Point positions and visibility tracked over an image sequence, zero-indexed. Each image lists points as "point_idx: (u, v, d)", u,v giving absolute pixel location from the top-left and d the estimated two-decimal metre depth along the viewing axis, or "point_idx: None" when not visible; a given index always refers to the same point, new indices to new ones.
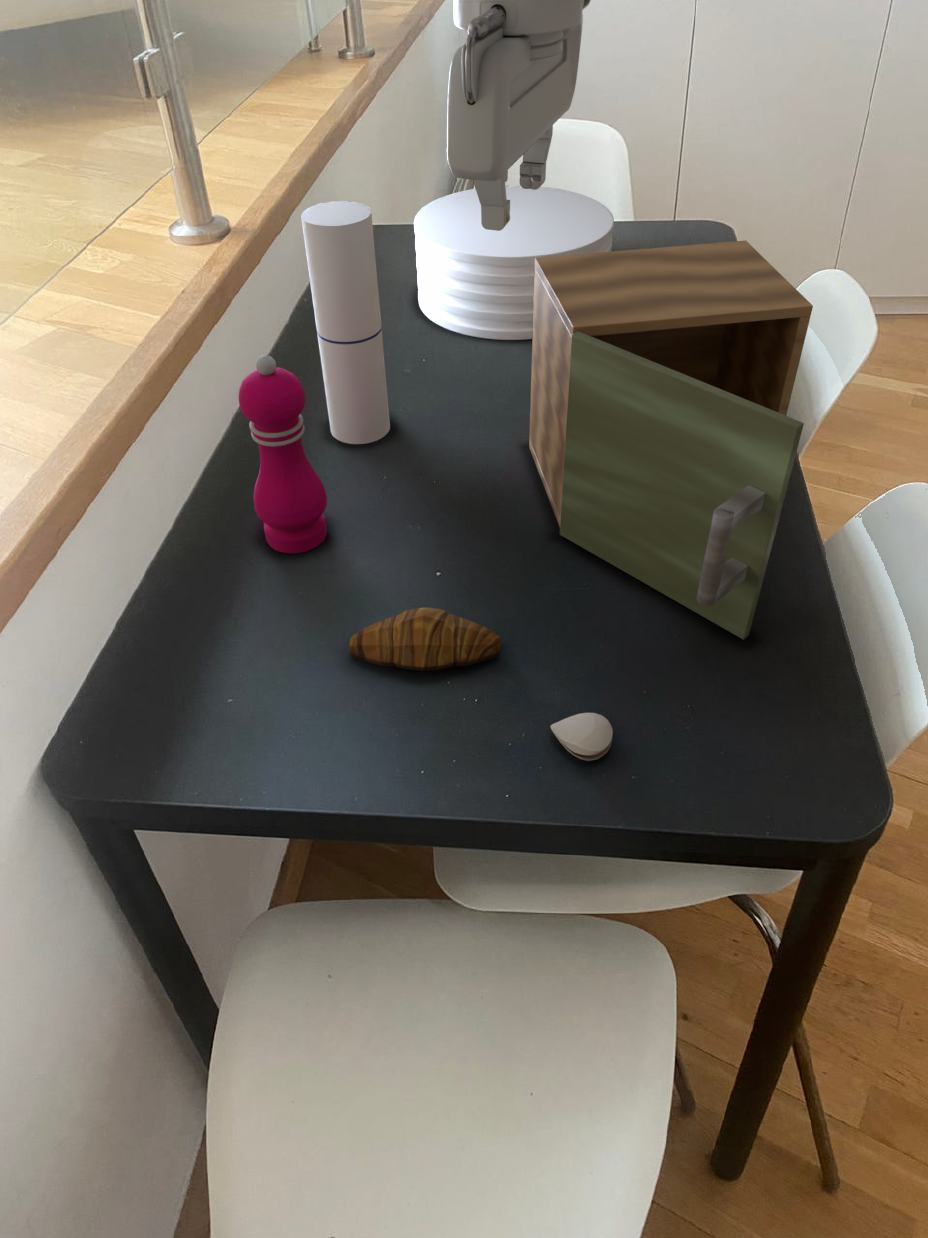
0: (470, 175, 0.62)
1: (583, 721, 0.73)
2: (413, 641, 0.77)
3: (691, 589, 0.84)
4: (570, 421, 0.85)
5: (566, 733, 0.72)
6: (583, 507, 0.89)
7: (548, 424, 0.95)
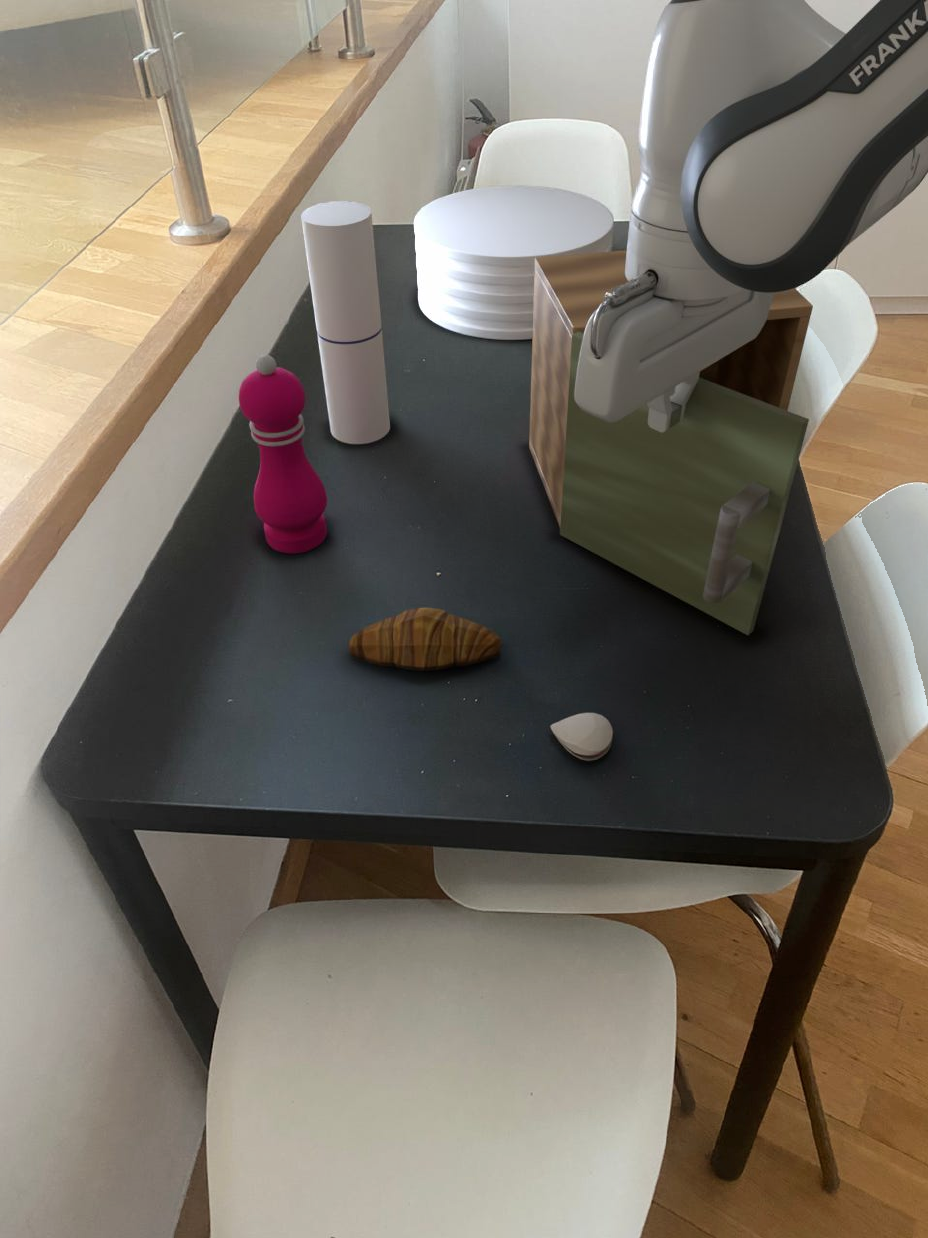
0: (590, 413, 0.66)
1: (583, 721, 0.73)
2: (413, 641, 0.77)
3: (695, 587, 0.84)
4: (570, 421, 0.85)
5: (566, 733, 0.72)
6: (584, 507, 0.89)
7: (548, 424, 0.95)
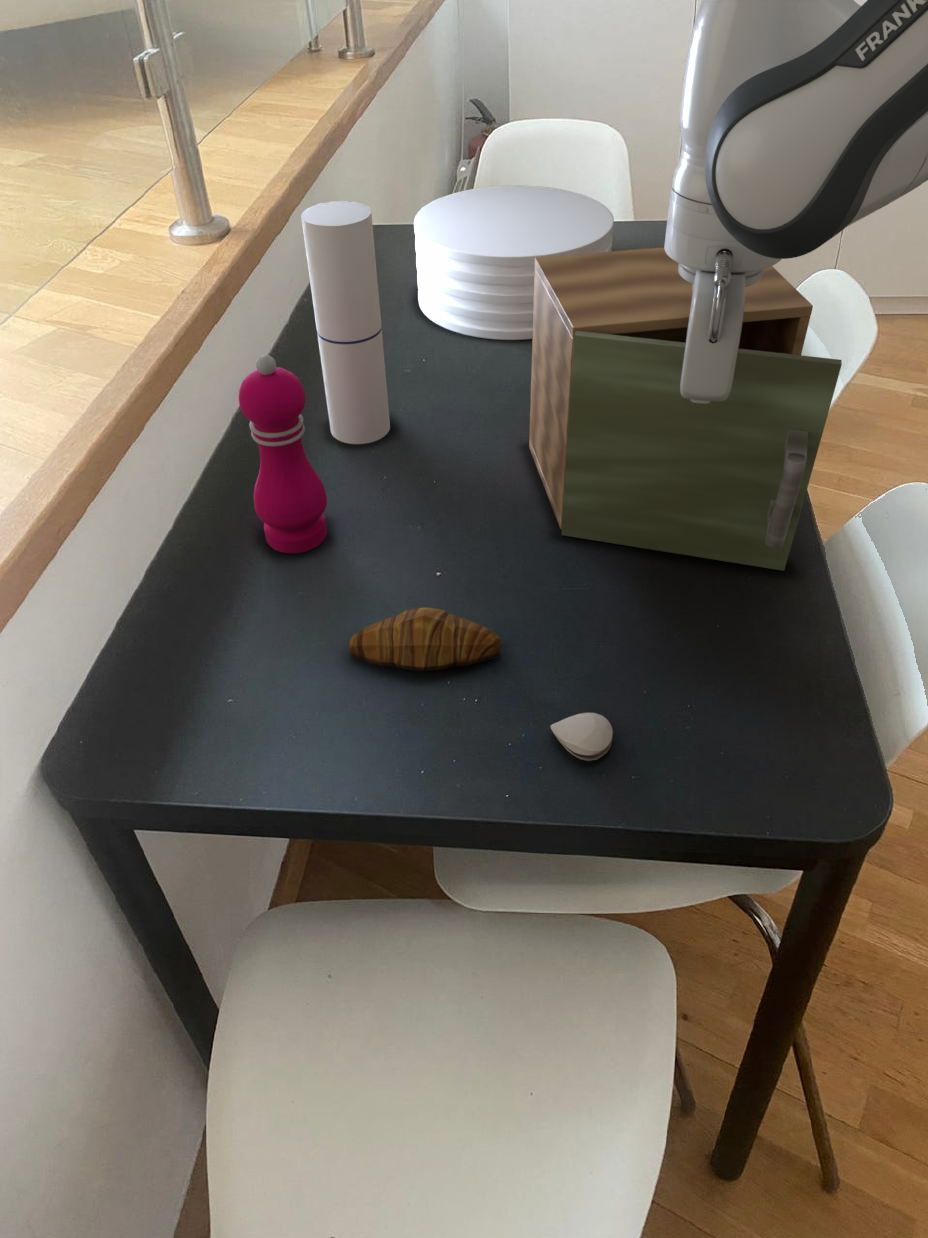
0: (702, 398, 0.67)
1: (583, 721, 0.73)
2: (413, 641, 0.77)
3: (725, 542, 0.89)
4: (574, 420, 0.85)
5: (566, 733, 0.72)
6: (592, 500, 0.90)
7: (548, 424, 0.95)
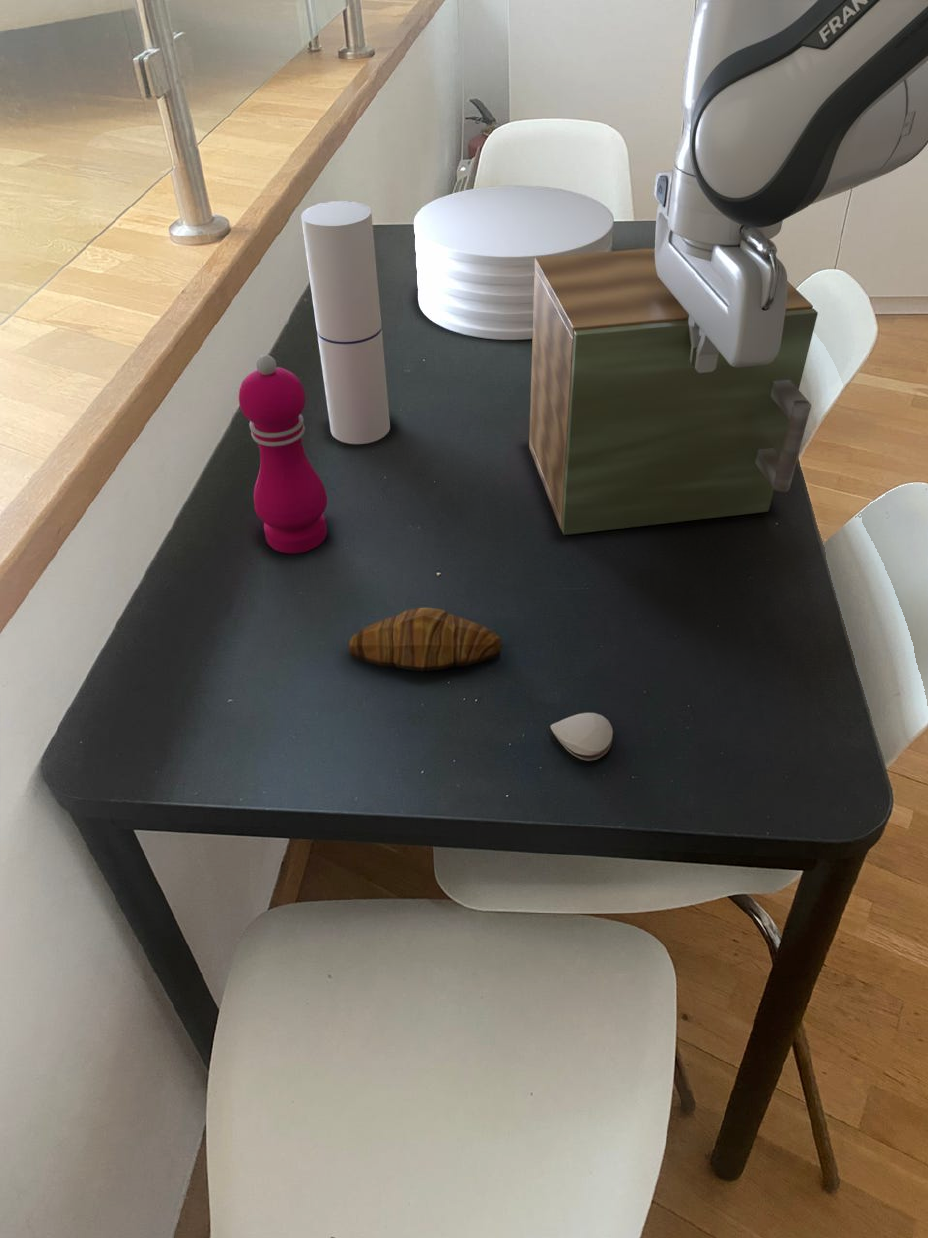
0: (754, 364, 0.71)
1: (583, 721, 0.73)
2: (413, 641, 0.77)
3: (717, 499, 0.94)
4: (576, 419, 0.85)
5: (566, 733, 0.72)
6: (593, 493, 0.91)
7: (548, 424, 0.95)
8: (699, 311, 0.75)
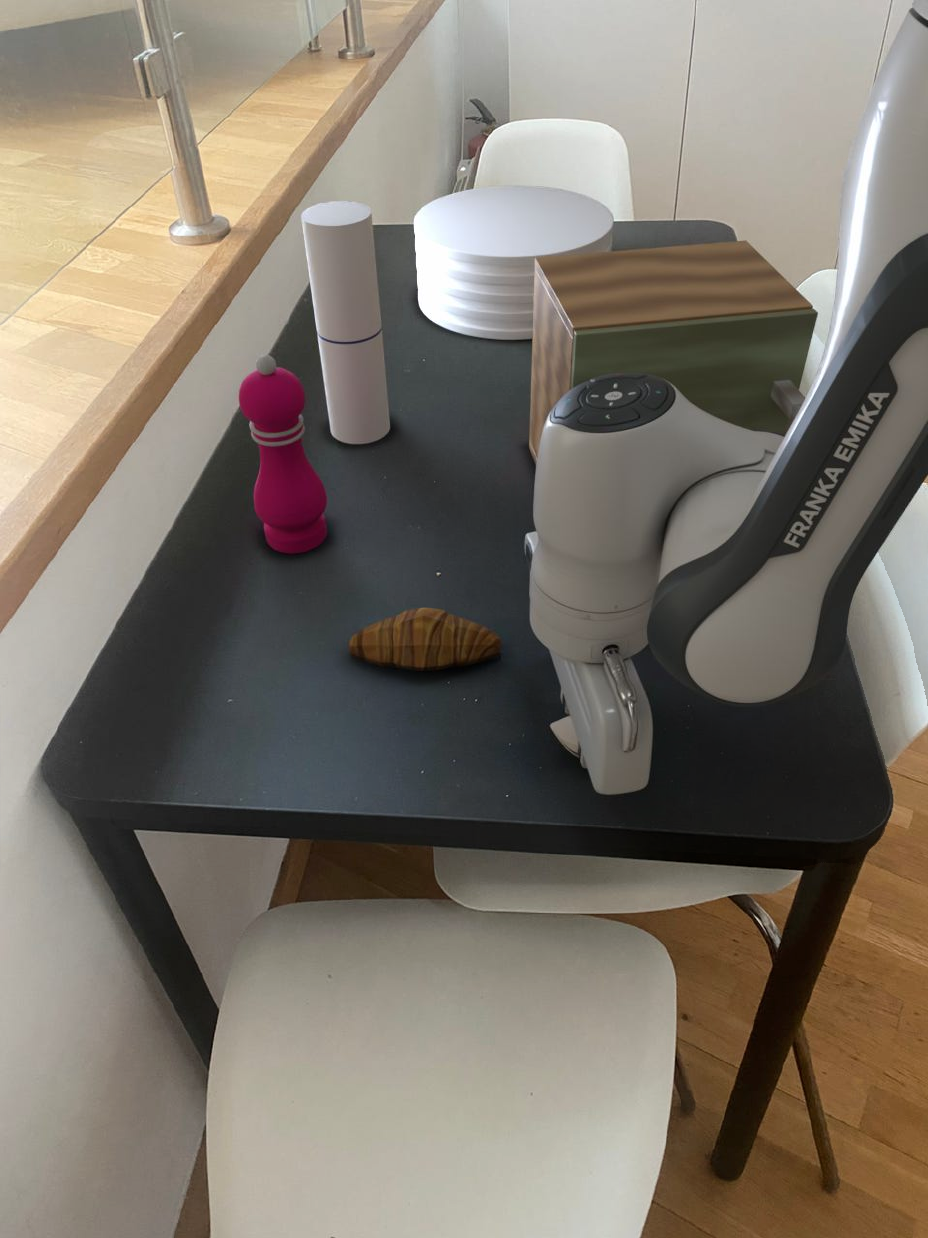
0: (620, 793, 0.62)
1: None
2: (413, 641, 0.77)
3: None
4: None
5: (566, 732, 0.72)
6: None
7: None
8: (569, 701, 0.67)
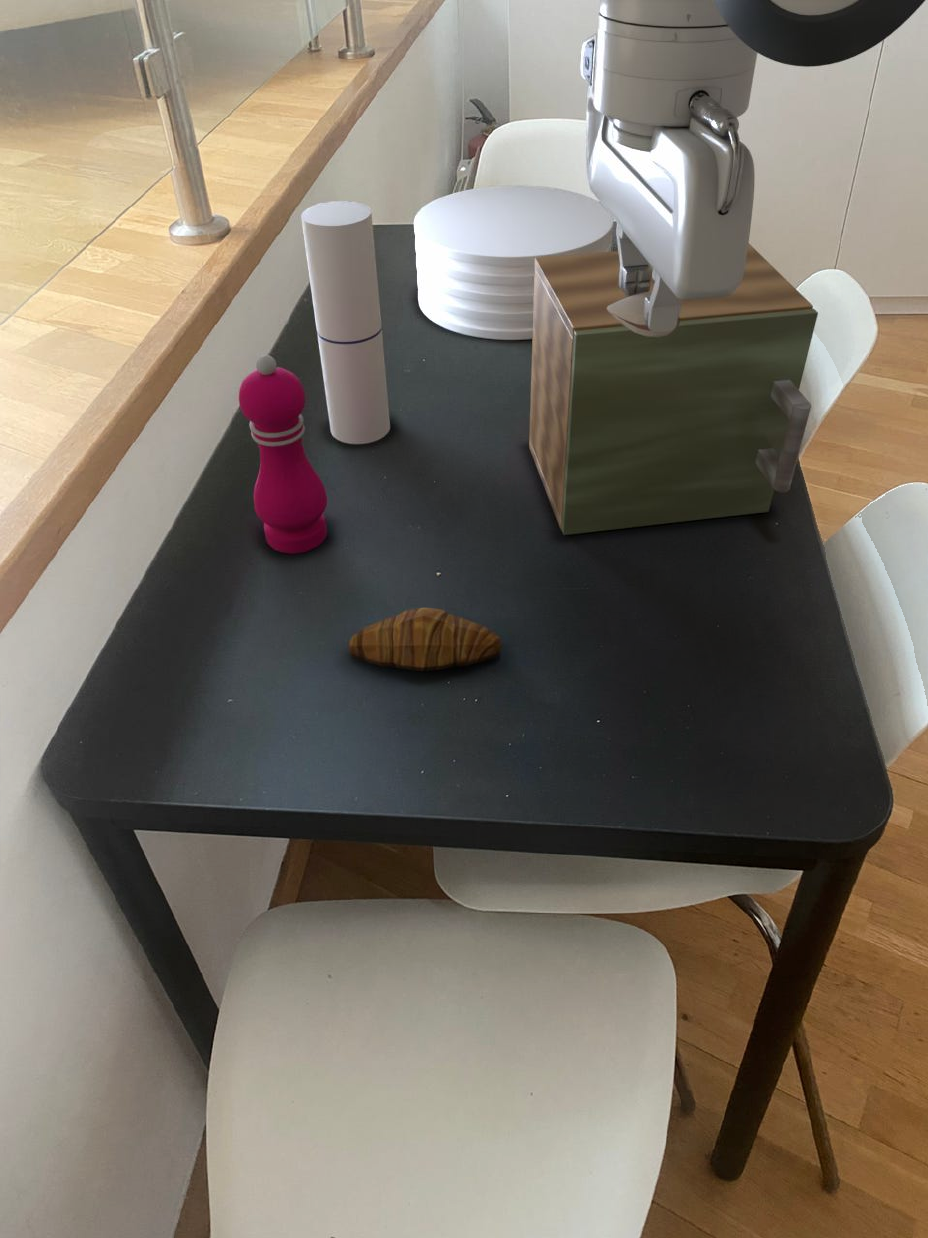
0: (708, 295, 0.51)
1: (646, 294, 0.61)
2: (413, 641, 0.77)
3: (717, 500, 0.94)
4: (576, 419, 0.85)
5: (627, 306, 0.61)
6: (593, 493, 0.91)
7: (548, 424, 0.95)
8: (638, 227, 0.55)
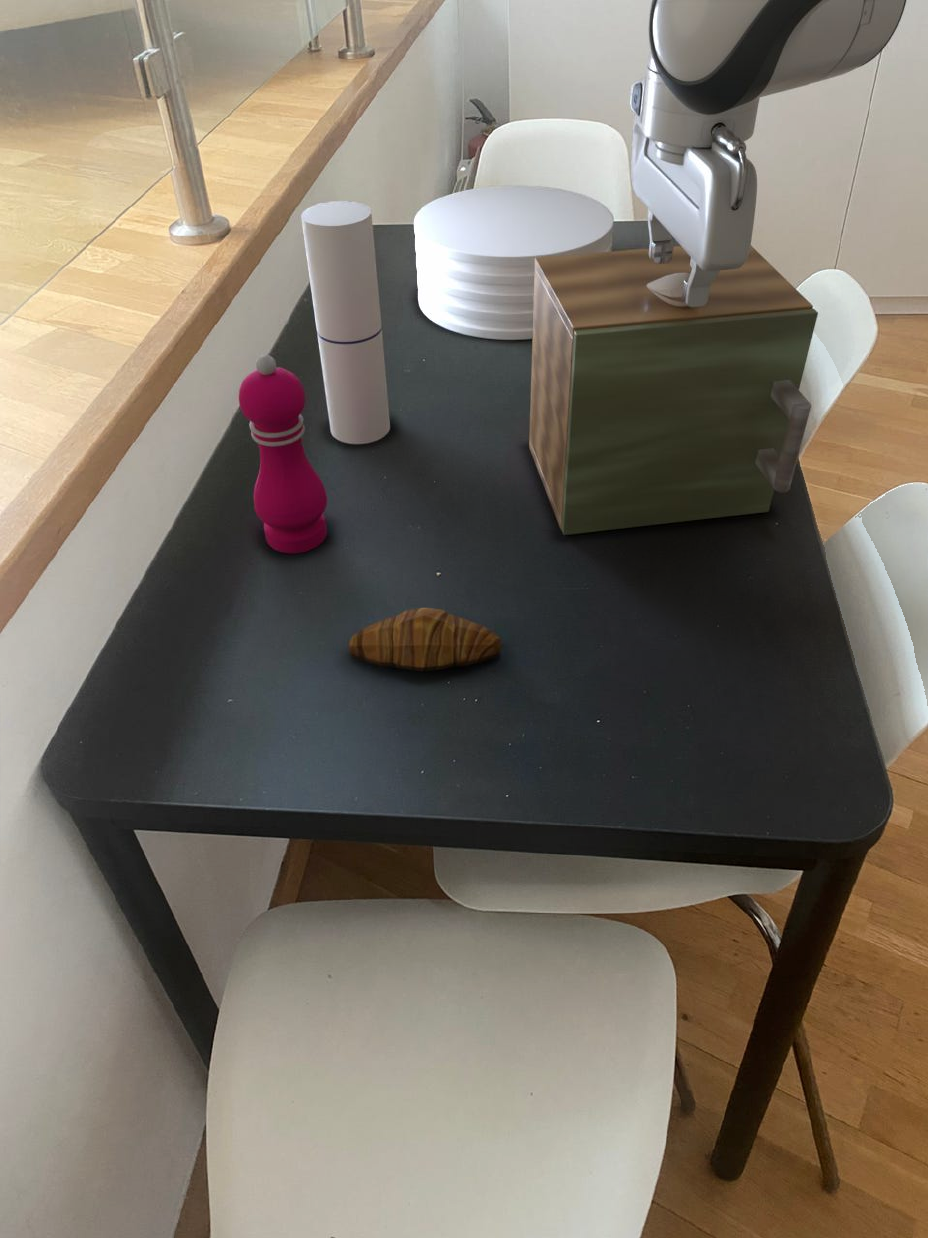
0: (724, 267, 0.71)
1: (677, 274, 0.82)
2: (413, 641, 0.77)
3: (717, 500, 0.94)
4: (576, 419, 0.85)
5: (662, 283, 0.82)
6: (593, 493, 0.91)
7: (548, 424, 0.95)
8: (672, 219, 0.76)
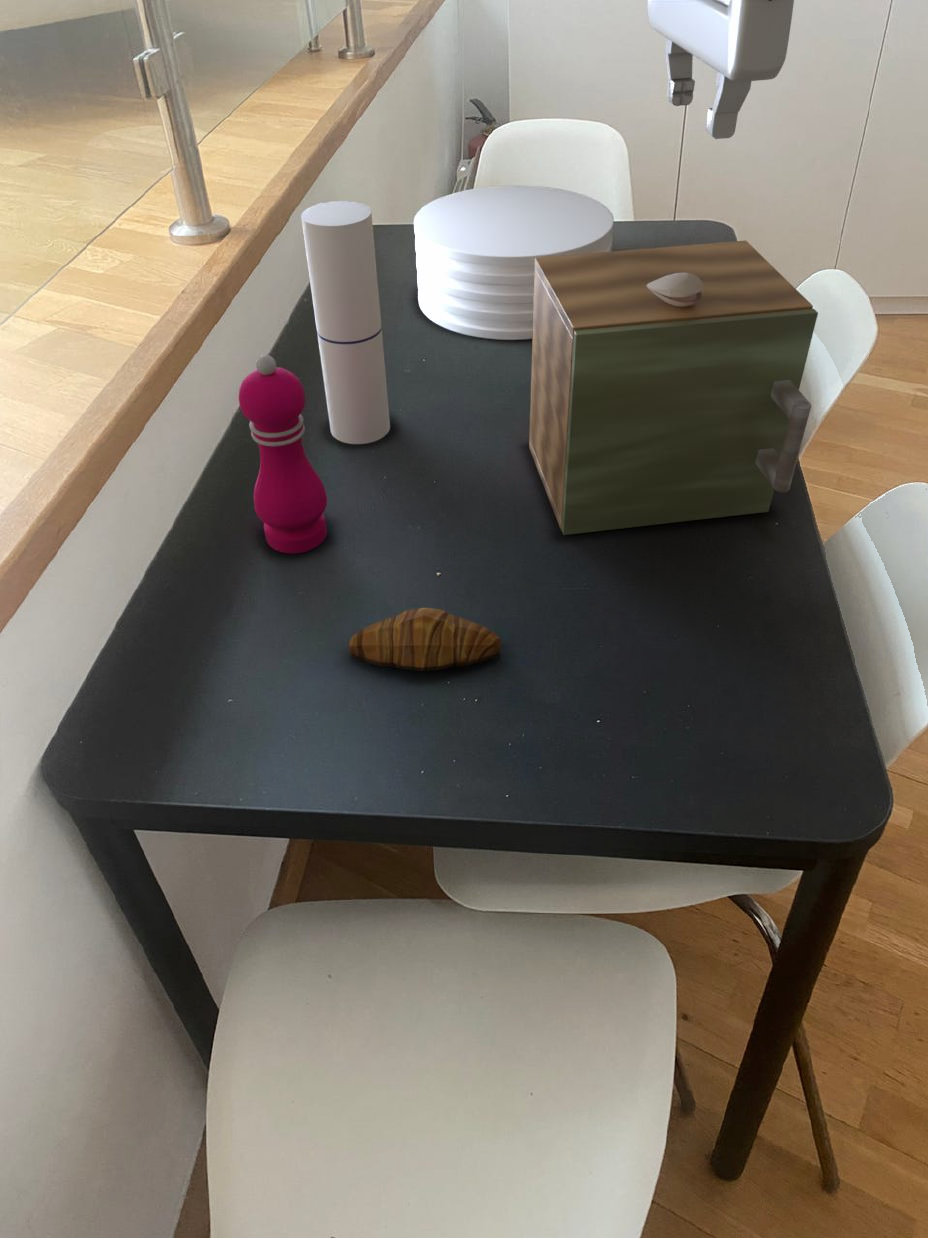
0: (756, 75, 0.62)
1: (677, 274, 0.82)
2: (413, 641, 0.77)
3: (717, 500, 0.94)
4: (576, 419, 0.85)
5: (662, 283, 0.82)
6: (593, 493, 0.91)
7: (548, 424, 0.95)
8: (695, 35, 0.67)
